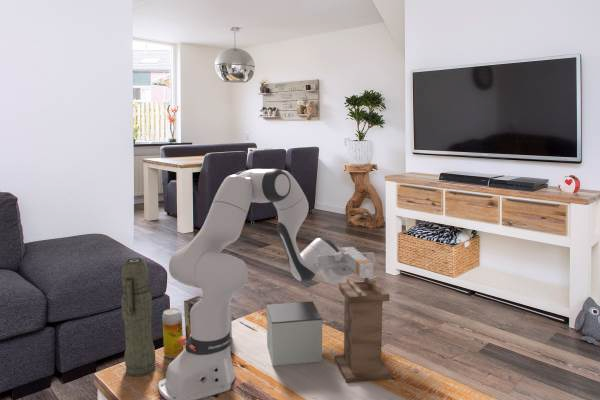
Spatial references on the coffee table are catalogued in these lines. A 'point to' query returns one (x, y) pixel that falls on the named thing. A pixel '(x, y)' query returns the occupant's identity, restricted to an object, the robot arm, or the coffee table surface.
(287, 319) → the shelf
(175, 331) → the beer can
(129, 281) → the thermos
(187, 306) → the coffee box
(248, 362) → the coffee table surface
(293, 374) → the coffee table surface
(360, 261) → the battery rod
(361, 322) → the stand
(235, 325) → the coffee table surface
